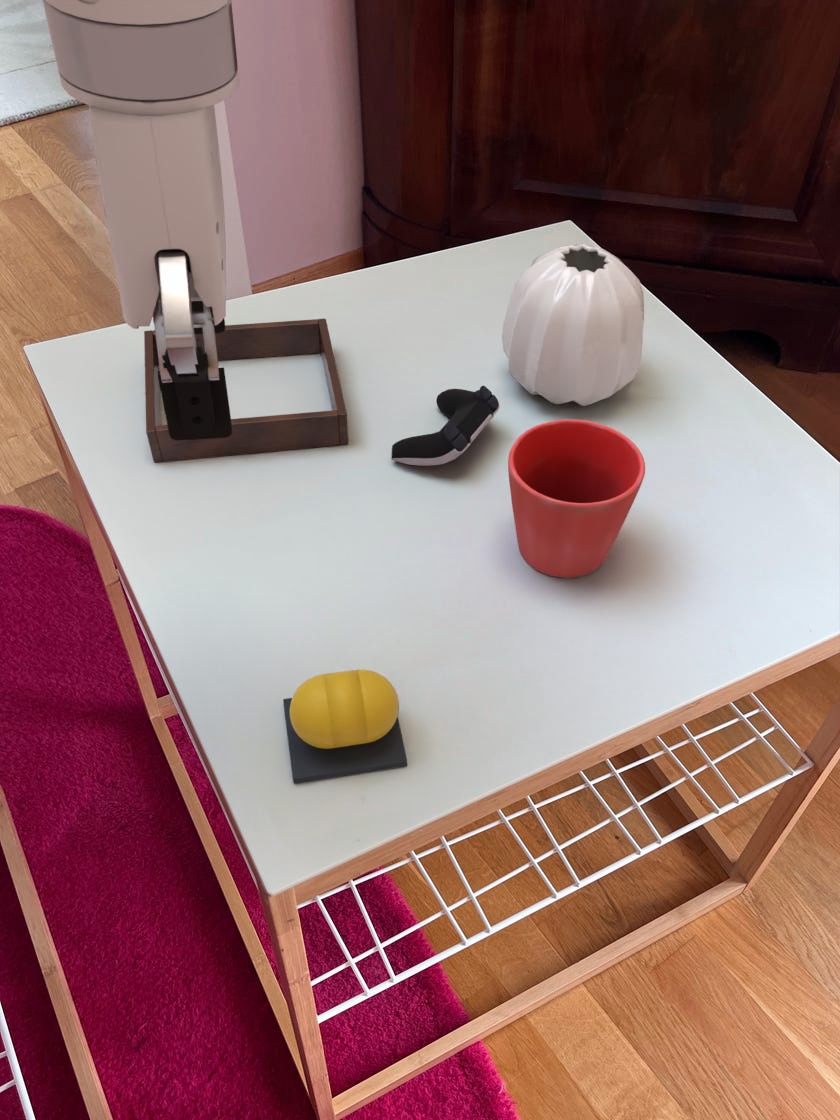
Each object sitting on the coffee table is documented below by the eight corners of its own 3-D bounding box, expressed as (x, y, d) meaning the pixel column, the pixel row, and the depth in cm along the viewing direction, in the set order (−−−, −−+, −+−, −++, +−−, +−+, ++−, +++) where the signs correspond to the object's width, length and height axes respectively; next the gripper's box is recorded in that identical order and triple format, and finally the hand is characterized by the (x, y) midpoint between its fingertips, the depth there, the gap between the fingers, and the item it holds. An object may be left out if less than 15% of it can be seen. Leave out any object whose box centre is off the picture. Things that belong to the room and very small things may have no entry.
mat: (293, 784, 68) (293, 779, 68) (283, 703, 72) (283, 698, 72) (407, 766, 70) (407, 761, 69) (390, 688, 74) (390, 683, 73)
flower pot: (488, 509, 87) (497, 420, 80) (607, 501, 89) (626, 413, 81) (510, 597, 81) (522, 509, 73) (638, 586, 82) (662, 500, 75)
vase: (541, 327, 106) (556, 206, 96) (656, 374, 102) (685, 253, 92) (472, 388, 98) (481, 264, 88) (593, 442, 94) (618, 318, 84)
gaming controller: (412, 490, 91) (462, 468, 86) (382, 452, 90) (432, 428, 85) (464, 427, 98) (514, 403, 93) (438, 390, 96) (487, 364, 91)
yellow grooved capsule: (296, 768, 68) (290, 727, 64) (289, 707, 71) (282, 664, 67) (404, 751, 70) (405, 710, 66) (392, 692, 73) (392, 649, 69)
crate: (153, 462, 88) (145, 431, 86) (150, 361, 98) (144, 330, 95) (348, 444, 92) (347, 414, 89) (327, 348, 101) (325, 318, 98)
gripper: (65, -29, 46) (133, 299, 60) (36, 132, 36) (126, 488, 49) (227, -24, 48) (258, 295, 61) (246, 131, 37) (278, 478, 50)
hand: (199, 380), depth 55 cm, fingers open, 9 cm apart
